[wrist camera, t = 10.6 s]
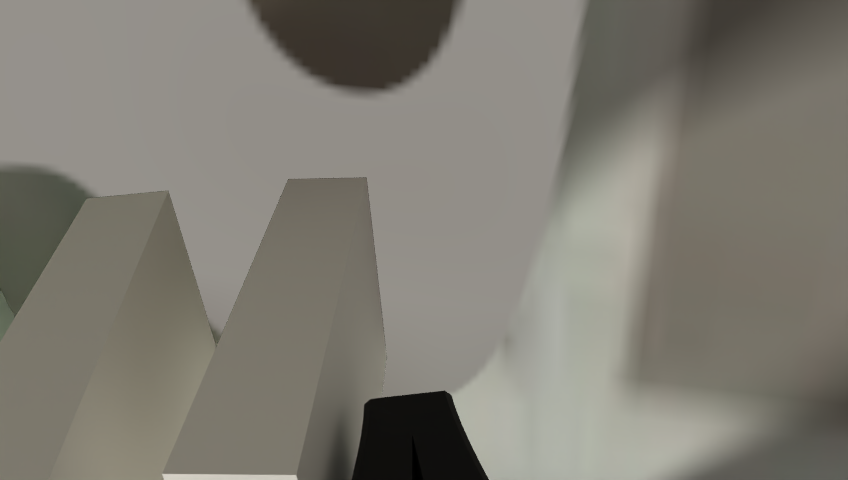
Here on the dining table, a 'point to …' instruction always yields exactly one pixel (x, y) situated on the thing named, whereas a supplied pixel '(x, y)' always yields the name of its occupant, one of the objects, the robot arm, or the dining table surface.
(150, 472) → the domino
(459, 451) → the robot arm
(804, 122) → the dining table surface
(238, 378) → the light grey rectangular block
